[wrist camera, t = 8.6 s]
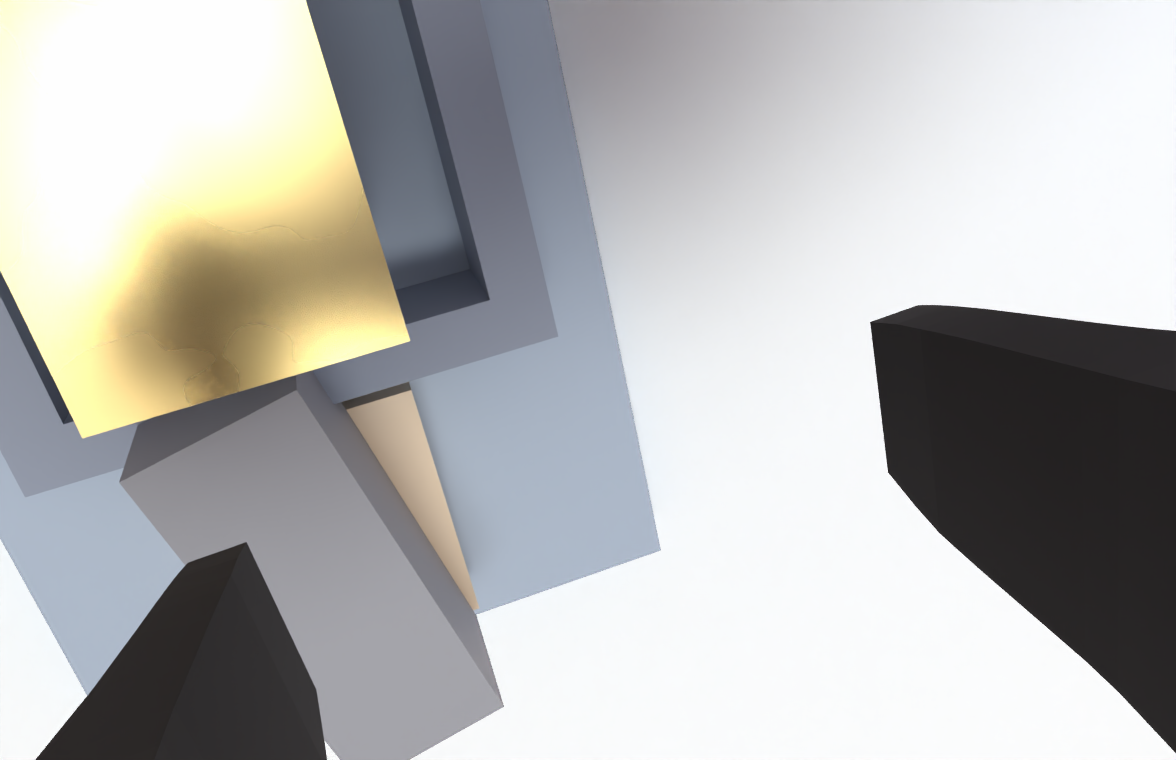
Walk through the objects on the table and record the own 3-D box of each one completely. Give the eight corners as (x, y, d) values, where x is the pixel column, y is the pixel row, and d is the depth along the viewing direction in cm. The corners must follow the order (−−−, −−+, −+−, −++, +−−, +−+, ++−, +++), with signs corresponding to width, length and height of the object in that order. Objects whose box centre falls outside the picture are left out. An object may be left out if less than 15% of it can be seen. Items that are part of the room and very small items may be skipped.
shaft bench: (369, -767, 14) (412, -1142, 9) (643, 523, 23) (733, 660, 18) (-617, -674, 12) (-1201, -1096, 7) (121, 702, 21) (75, 906, 16)
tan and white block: (371, 230, 18) (410, 340, 12) (145, 293, 17) (81, 438, 12) (279, -70, 16) (276, -94, 10) (16, -12, 15) (-135, -5, 10)
